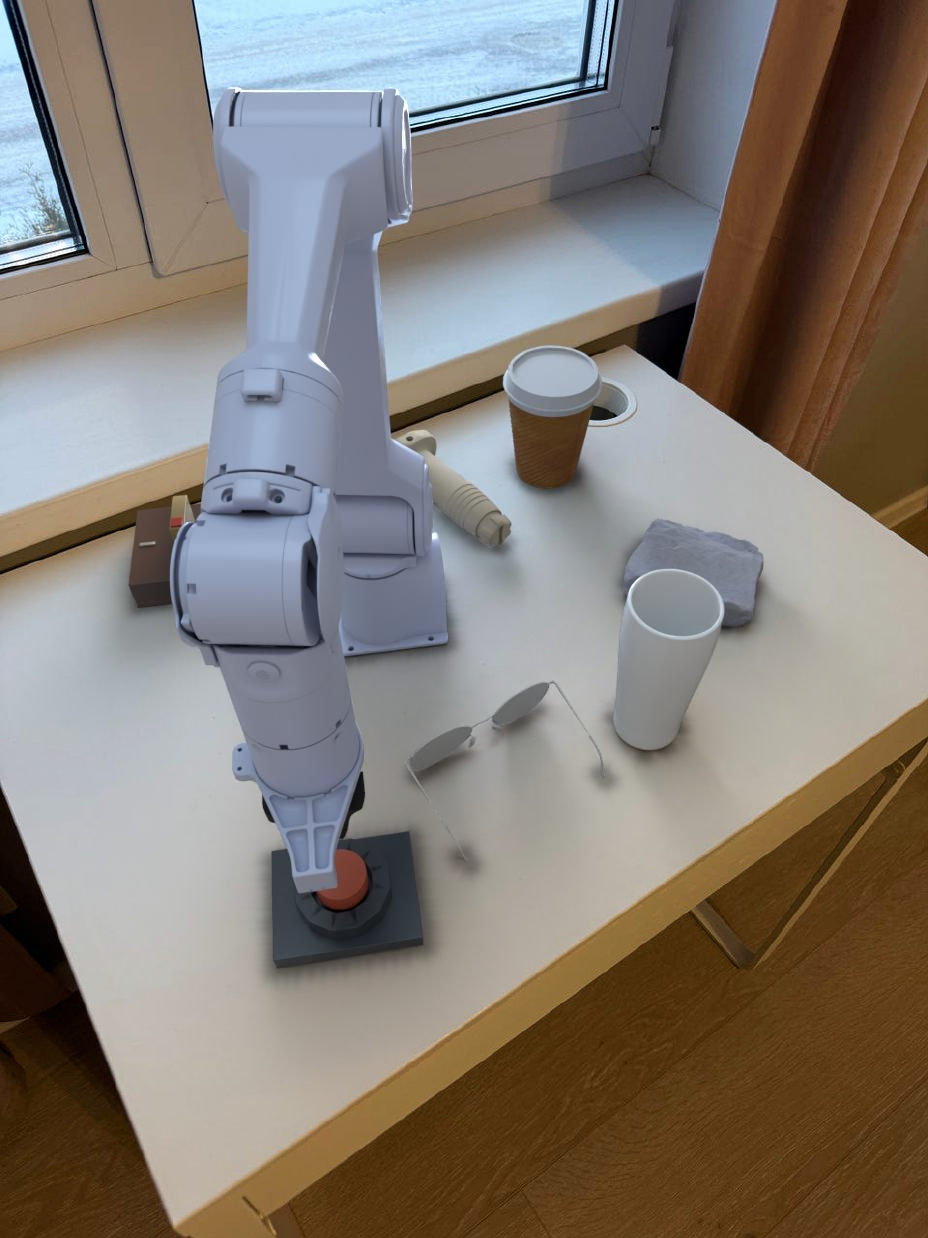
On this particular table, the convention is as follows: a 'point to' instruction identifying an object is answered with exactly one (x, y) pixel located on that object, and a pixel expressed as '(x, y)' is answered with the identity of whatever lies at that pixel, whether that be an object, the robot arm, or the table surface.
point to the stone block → (702, 564)
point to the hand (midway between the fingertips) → (328, 831)
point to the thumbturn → (180, 514)
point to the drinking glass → (663, 653)
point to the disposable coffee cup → (550, 411)
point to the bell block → (360, 929)
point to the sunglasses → (458, 735)
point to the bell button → (346, 882)
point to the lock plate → (153, 556)
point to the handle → (459, 494)
